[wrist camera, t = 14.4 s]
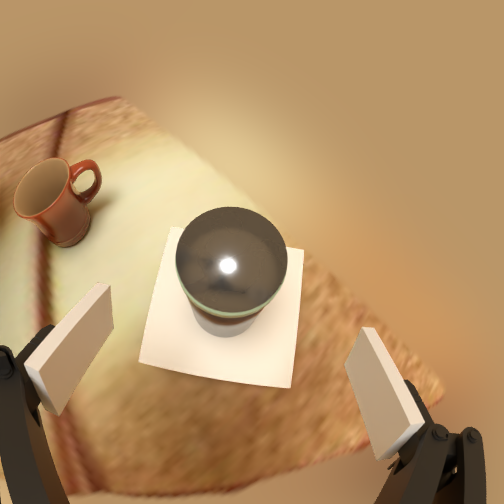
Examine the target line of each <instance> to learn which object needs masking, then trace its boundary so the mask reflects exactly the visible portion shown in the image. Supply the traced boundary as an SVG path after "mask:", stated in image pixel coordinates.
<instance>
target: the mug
mask: <svg viewBox="0 0 504 504" xmlns="http://www.w3.org/2000/svg"><path fill="white" fill-rule="evenodd" d="M86 170H92V171H93V172H94V176H95V179H94V183H93V185H92V186H91V187H90V188H89V189H88V190H86V191H84V192H78V191H77V189H76V188H75V187H74V185H73V183H74V182H75V180H76V179H77V177H78V176H79V175H80V174H81V173H82V172H84V171H86ZM101 184H102V176H101V172H100V169H99V167H98V165H97V164H96V163H95V162H94V161H93V160H84V161H81V162H79V163H77V164H74V165H72V166H69V164H68V163H67V161H66V160H64V159H61V158H49V159H46V160H43V161H41V162H39V163H38V164H36V165H35V166H33V167H32V168H31V169H30V170H29V171H28V172H27V173H26V174H25V175H24V176H23V178H22V179H21V180H20V182H19V184H18V186H17V188H16V190H15V193H14V198H13V206H14V210H15V212H16V213H17V215H19V216H20V217H22V218H24V219H26V220H29V221H31V222H33V223H34V224H35V225H36V226H37V227H38V228H39V230H40V231H41V232H42V233H43V234H44V235H45V236H46V237H47V239H48V240H50V241H51V242H53V243H54V244H55V245H58V246H61V247H68V246H71V245H74V244H75V243H77V242H78V241H80V240H81V239H82V238H83V236H84V235H85V234H86V232H87V230H88V227H89V224H90V214H89V210H88V208H87V204H88V203H90V202H91V200H92V199H93V198H94V197H95V195H96V194H97V193H98V191H99V190H100V187H101Z"/></svg>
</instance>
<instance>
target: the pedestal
mask: <svg viewBox="0 0 504 504" xmlns="http://www.w3.org/2000/svg"><path fill="white" fill-rule="evenodd" d="M184 230H185V229H183V228H177V227H171V229H170V232H169V236H168V239H167V243H166V246H165V250H164V253H163V257H162V261H161V264H160V268H159V272H158V276H157V279H156V283H155V287H154V291H153V295H152V300H151V304H150V308H149V313H148V317H147V321H146V326H145V331H144V336H143V340H142V345H141V351H140V356H139V361H138V362H140V363H144V364H148V365H152V366H156V367H160V368H164V369H169V370H173V371H178V372H182V373H187V374H192V375H197V376H202V377H208V378H213V379H219V380H225V381H232V382H239V383H246V384H254V385H262V386H271V387H281V388H290V387H291V380H292V372H293V364H294V355H295V347H296V338H297V328H298V318H299V307H300V296H301V284H302V271H303V257H304V250H301V249H295V248H290V247H286V250H287V256H288V265H287V272H286V276H285V280H284V282H283V284H282V286H281V288H280V290H279V291H278V293H277V294H276V295H275V297H274V298H273V299H272V300H271V301H270V303H269V304H267V305H266V306H265V307H264V309H263V310H262V311H261V313H260V314H259V315H258V316H257V318H256V319H255V320H254V322H253V323H252V324H251V326H250V327H249V328H248V329H247V330H246V331H244V332H243V333H241V334H239V335H237V336H234V337H228V338H223V337H217V336H214V335H211V334H209V333H208V332H206V331H205V330H204V329H203V328H201V326H200V325H199V324H198V322H197V321H196V319H195V316H194V314H193V311H192V309H191V306H190V304H189V301H188V298H187V296H186V294H185V293H184V291H183V289H182V287H181V284H180V282H179V279H178V277H177V273H176V268H175V254H176V249H177V244H178V241H179V238H180V236H181V235H182V233H183V231H184Z"/></svg>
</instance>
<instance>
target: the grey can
mask: <svg viewBox="0 0 504 504" xmlns="http://www.w3.org/2000/svg"><path fill="white" fill-rule="evenodd" d="M287 265H288V256H287V250H286V246H285V243H284V240H283V238H282V236H281V235H280V233H279V231H278V230H277V229H276V227H275V226H274V225H273V224H272V223H271V222H270V221H268V220H267V219H266V218H265V217H263V216H261V215H260V214H258V213H256V212H254V211H251V210H248V209H244V208H239V207H221V208H216V209H213V210H210V211H207V212H205V213H203V214H201V215H200V216H198V217H196V218H195V219H194V220H193V221H192V222H191V223H190V224H189V225H188V226H187V227H186V228H185V230H184V231H183V233H182V235H181V236H180V238H179V241H178V244H177V249H176V254H175V268H176V273H177V277H178V279H179V282H180V284H181V287H182V289H183V291H184V293H185V294H186V296H187V298H188V301H189V304H190V306H191V309H192V311H193V314H194V316H195V319H196V321H197V322H198V324H199V325H200V326H201V328H203V329H204V330H205V331H206V332H208V333H209V334H211V335H214V336H217V337H223V338H228V337H234V336H237V335H239V334H241V333H243V332H244V331H246V330H247V329H248V328H249V327H250V326H251V324H252V323H253V322H254V320H255V319H256V318H257V316H258V315H259V314H260V313H261V311H262V310H263V309H264V307H265V306H266V305H267V304H269V303H270V301H271V300H272V299H273V298H274V297H275V295H276V294H277V293H278V291H279V290H280V288H281V286H282V284H283V282H284V280H285V276H286V272H287Z"/></svg>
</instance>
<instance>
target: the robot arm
mask: <svg viewBox="0 0 504 504" xmlns="http://www.w3.org/2000/svg"><path fill="white" fill-rule="evenodd" d="M113 329H114V326H113V315H112V303H111V288H110V285H107V284H103V283H99V282H98V283H97V284H96V285H95V286H94V287H93V288H92V289H91V290H90V291H89V292H88V293H87V294H86V295H85V296H84V297H83V298H82V299H81V300H80V301H79V302H78V303H77V304H76V305H75V306H74V307H73V308H72V309H71V310H70V311H69V312H68V313H67V315H66V316H65V317H64V318H63V319H62V320H61V321H60V322H59V323H58V324H57V325H56V326H53V325H51V324H50V325H48V326H46V327H44V328H42V329H41V330H40V331H39V332H38V333H37V334H36V335H35V337H34V338H33V339H32V340H31V341H30V343H28V344H27V345H26V346H25V348H24V349H23V350H22V351H21V352H20V353H19V354H18V356H17V357H16V358H14V356H13V353H12V351H11V350H10V349H9V347H6V346H4V345H0V457H1V462H2V466H3V471H4V475H5V479H6V483H7V486H8V490H9V493H10V496H11V500H12V503H13V504H70V503H69V501H68V498H67V496H66V494H65V491H64V489H63V487H62V484H61V482H60V479H59V476H58V474H57V471H56V468H55V465H54V462H53V459H52V456H51V453H50V450H49V447H48V443H47V440H46V436H45V432H44V429H43V425H42V420H41V416H40V412H39V409H38V405H39V403H40V402H41V403H42V404H43V406H44V408H45V410H47V411H49V412H51V413H53V414H55V415H57V416H60V414H61V413H62V411H63V409H64V407H65V405H66V404H67V402H68V400H69V399H70V397H71V395H72V393H73V392H74V390H75V388H76V387H77V385H78V383H79V382H80V380H81V378H82V377H83V375H84V374H85V372H86V370H87V369H88V367H89V366H90V364H91V362H92V361H93V359H94V358H95V356H96V355H97V353H98V351H99V350H100V348H101V347H102V345H103V344H104V342H105V341H106V339H107V338H108V336H109V335H110V333H111V332H112V330H113ZM344 366H345V369H346V372H347V374H348V377H349V380H350V383H351V386H352V388H353V391H354V394H355V397H356V400H357V403H358V406H359V409H360V412H361V415H362V417H363V420H364V423H365V427H366V430H367V433H368V436H369V439H370V442H371V445H372V448H373V451H374V455H375V458H376V461H378V460H384V459H390V458H391V457H392V456H393V455H395V454H396V453H397V452H398V453H399V456H400V457H399V458H398V459H397V460H396V461H394V462H393V463H392V464H391V465H390V466H389V467H388V470H389V469H391V468H392V467H393V468H392V470H391V473H390V475H389V477H388V479H387V481H386V483H385V484H384V486H383V488H382V490H381V492H380V494H379V496H378V497H377V499H376V501H375V503H374V504H486V472H485V459H484V450H483V442H482V437H481V434H480V433H479V431H478V430H476V429H475V428H473V427H467V428H465V429H464V430H463V431H462V432H461V433H460V434H455V433H449V431H448V430H447V429H446V428H445V427H444V426H442V425H440V424H434V422H433V420H432V418H431V416H430V414H429V412H428V410H427V408H426V407H425V405H424V403H423V402H422V399H421V397H420V396H419V394H418V392H417V390H416V388H415V386H414V385H413V384H412V383H411V382H410V381H409V380H403V378H402V377H401V375H400V373H399V371H398V369H397V367H396V366H395V364H394V362H393V360H392V358H391V357H390V355H389V353H388V351H387V350H386V348H385V346H384V344H383V343H382V341H381V339H380V337H379V336H378V334H377V332H376V331H375V329H374V328H370V327H362V328H361V330H360V332H359V334H358V337H357V339H356V341H355V343H354V345H353V348H352V350H351V352H350V354H349V356H348V358H347V360H346V362H345V364H344ZM456 467H457V472H456V473H455V468H456ZM0 504H1V498H0Z"/></svg>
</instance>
